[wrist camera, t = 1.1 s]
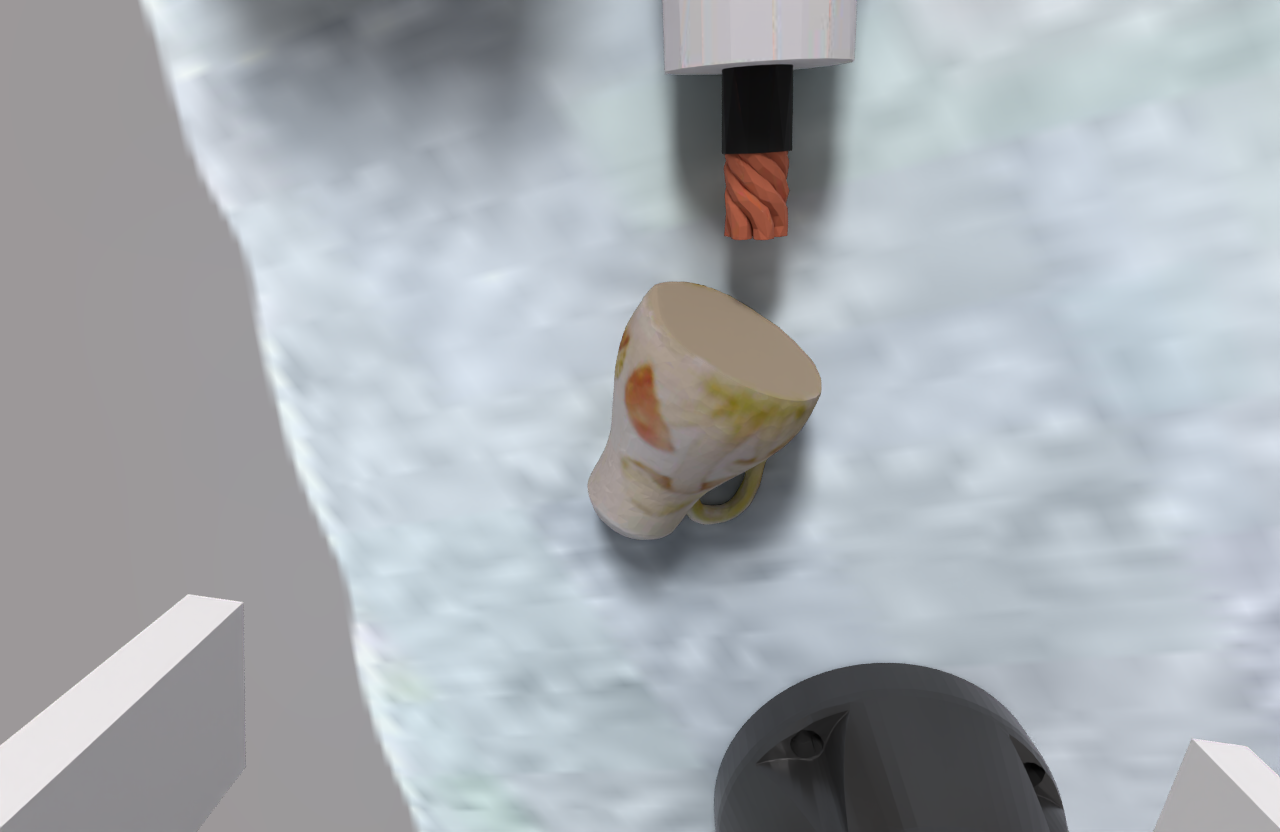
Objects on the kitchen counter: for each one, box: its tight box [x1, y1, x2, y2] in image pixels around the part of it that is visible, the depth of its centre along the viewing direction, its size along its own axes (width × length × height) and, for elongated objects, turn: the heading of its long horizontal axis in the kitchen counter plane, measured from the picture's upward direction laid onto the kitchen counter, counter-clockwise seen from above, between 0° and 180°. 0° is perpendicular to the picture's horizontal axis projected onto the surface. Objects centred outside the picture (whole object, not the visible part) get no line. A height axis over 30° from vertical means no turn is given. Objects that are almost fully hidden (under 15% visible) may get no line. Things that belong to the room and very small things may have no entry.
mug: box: [588, 282, 821, 540], centre depth 27 cm, size 7×10×10 cm
